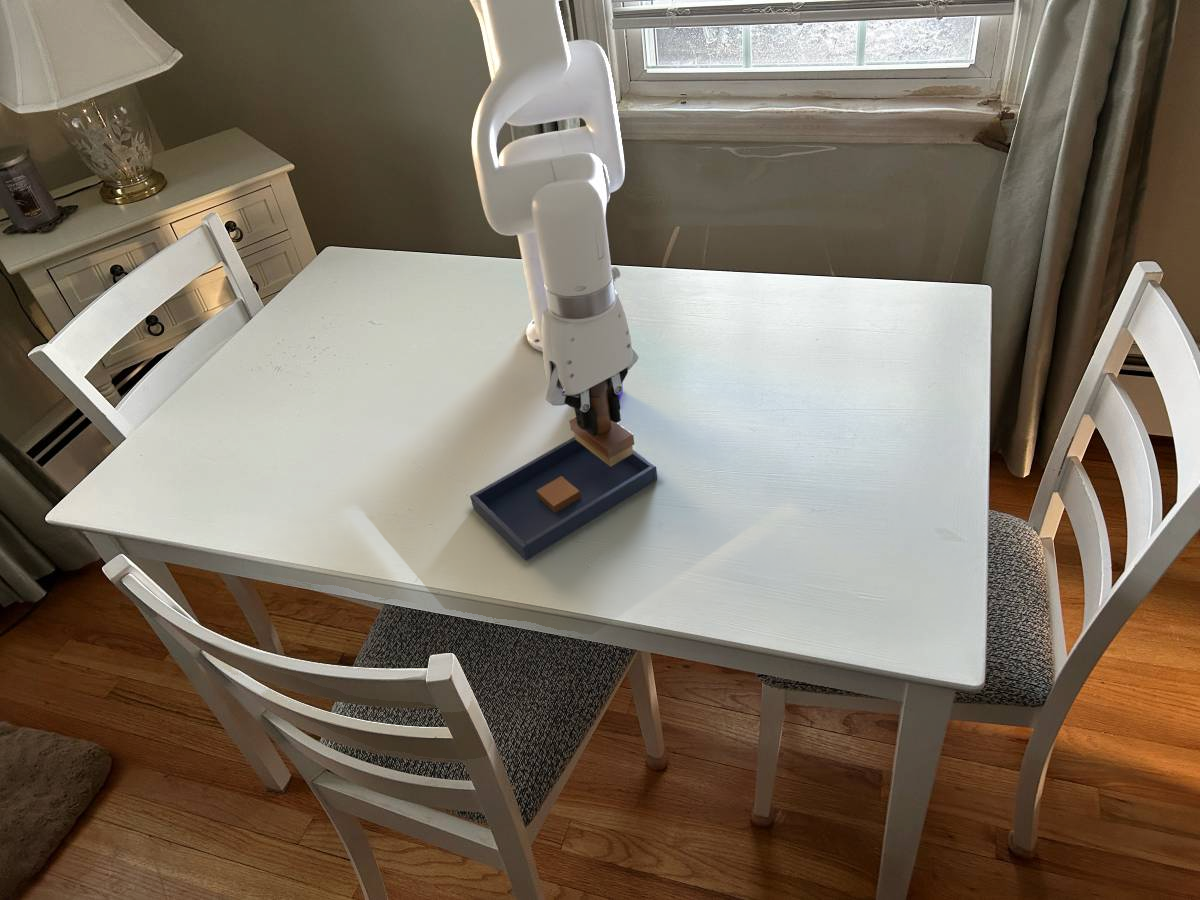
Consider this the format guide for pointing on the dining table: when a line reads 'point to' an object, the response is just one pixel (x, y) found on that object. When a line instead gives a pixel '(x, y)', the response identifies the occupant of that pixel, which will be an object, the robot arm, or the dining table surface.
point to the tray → (538, 527)
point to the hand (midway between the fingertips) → (599, 422)
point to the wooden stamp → (604, 430)
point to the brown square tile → (558, 494)
